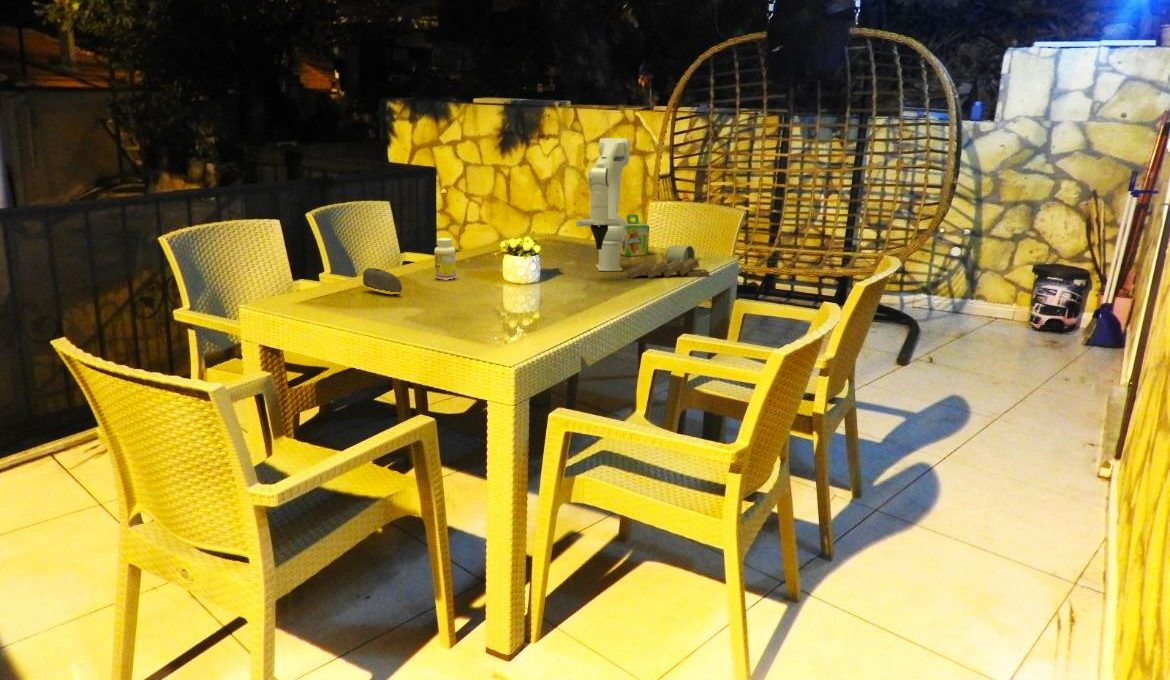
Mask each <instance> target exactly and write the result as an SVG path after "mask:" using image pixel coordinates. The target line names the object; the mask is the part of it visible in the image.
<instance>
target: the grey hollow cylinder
mask: <svg viewBox="0 0 1170 680" xmlns="http://www.w3.org/2000/svg"><path fill="white" fill-rule="evenodd" d="M690 258H692V259H695V258H696V257H695V249H694V248H693V246H692V245H685V244H683V245H682V244H681V245H680V244H673V245H670V246H668V248H667V249H666V252H665V261H664V263H666V265H668V264H669V263H671V262H673V261H675V260H676V259H677V260H679V261H681V262H682V263H684V262H685V261H687V260H689V259H690Z"/></svg>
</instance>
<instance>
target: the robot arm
mask: <svg viewBox="0 0 1170 680" xmlns="http://www.w3.org/2000/svg"><path fill="white" fill-rule="evenodd" d="M630 152H631V142H630V139H629V138H628V137H626V138H625V137H624V138H619V137H618V138H616V137H612V138H611V137H601V138H600V139H599V142H598V153H599V154H598V155H599V157H598V158H597V159H596V161H595V164H594V165H593V166H594V167H591V168H589V171H588V175H587V176H588V177H587V178H588V187H589V189H588V191H589V192H590V195H589V196H590V200H589V201H590V209H589V211H590V212H589V213H590V214H589V215H590V216H589V219H576V220H575V226H576V227H577V228H580V227H589V228H590V230H591V233H592V235H593V239H594V241H595V247H596V250H598V264H595V268H597V270H598V271H599V272H600V271H601V272H610V271H611V272H613V271H614V272H616V271H619V272H620V271H623V268H622V267H621V265H620V264H621V254H620V243H622V242H623V241H624V239H625V223H626V221H625V219H624V218H623V217H622V216H620V215H619V204H620V194H621V182H622V175H623V174H622V173H623V169H624V167H626V166H628V165H629V162H630Z"/></svg>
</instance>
